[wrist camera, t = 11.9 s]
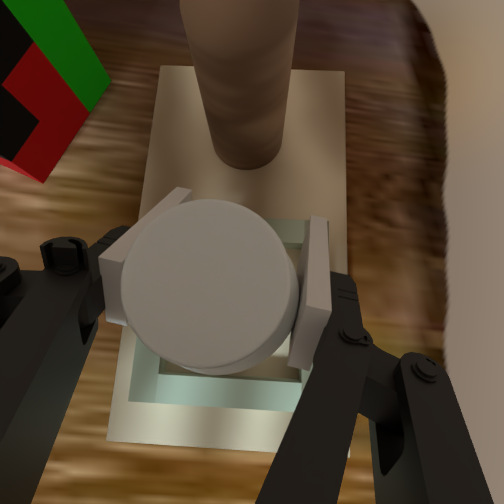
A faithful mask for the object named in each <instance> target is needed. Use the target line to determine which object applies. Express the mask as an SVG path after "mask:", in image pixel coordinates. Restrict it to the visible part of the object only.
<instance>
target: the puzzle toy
mask: <svg viewBox="0 0 504 504" xmlns="http://www.w3.org/2000/svg"><path fill="white" fill-rule="evenodd" d="M110 82H111V79H110V78H109V76H108V74H107V73H106V71H105V69H104V68H103V66H102V64H101V62H100V61H99V59H98V57H97V56H96V54H95V52H94V51H93V49H92V47H91V46H90V44H89V42H88V40H87V39H86V37H85V35H84V34H83V32H82V30H81V29H80V27H79V25H78V24H77V22H76V20H75V18H74V17H73V15H72V13H71V12H70V10H69V8H68V7H67V5H66V3H65V2H64V0H0V164H2V165H4V166H6V167H8V168H10V169H12V170H15V171H17V172H19V173H21V174H23V175H25V176H28V177H30V178H32V179H34V180H36V181H38V182H41V183H44V182H45V180H46V179H47V177H48V176H49V174H50V173H51V171H52V170H53V168H54V167H55V165H56V164H57V162H58V161H59V159H60V158H61V156H62V155H63V153H64V152H65V150H66V149H67V147H68V146H69V144H70V143H71V141H72V140H73V138H74V137H75V135H76V134H77V132H78V131H79V129H80V128H81V126H82V125H83V123H84V122H85V120H86V119H87V117H88V115H89V114H90V112H91V111H92V109H93V108H94V106H95V105H96V103H97V102H98V100H99V99H100V97H101V96H102V94H103V93H104V91H105V90H106V88H107V87H108V85H109V84H110Z"/></svg>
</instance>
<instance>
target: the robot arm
mask: <svg viewBox="0 0 504 504" xmlns="http://www.w3.org/2000/svg"><path fill="white" fill-rule="evenodd" d="M189 201H192V190H191V189H186V188H181V187H176V188H175V189H174V190H173V191H172V192H170V193H169V194H168V195H167V196H166V197H165V198H164V199H163V200H162V201H160V202H159V203H158V204H157V205H156V206H155V207H154V208H153V209H151V210H150V211H149V212H148V213H147V214H146V215H145V216H144V217H142V218H141V219H140V220H139V221H138V222H137V223H136V224H135V225H134V226H132V227H127V226H123V225H122V226H120V227H117V228H115V229H112V230H110V231H109V232H108V233H107V234H106V235H104V236H103V238H101V239H99V240H98V241H97V243H94V244H93V245H92V246H91V247H90V248H87V244H86V242H85V241H84V240H82V239H80V238H75V237H59V238H54V239H51V240H48V241H46V242H44V243H43V244H42V245H40V250H41V254H42V258H43V263H44V267H45V269H44V270H43V271H30V270H20V268H19V265H18V262H17V261H16V260H15V259H13V258H10V257H2V256H0V504H31V502H32V499H33V497H34V494H35V491H36V489H37V486H38V484H39V481H40V478H41V476H42V473H43V471H44V468H45V465H46V463H47V460H48V457H49V455H50V452H51V450H52V447H53V444H54V442H55V439H56V437H57V434H58V431H59V429H60V426H61V423H62V421H63V418H64V416H65V413H66V410H67V408H68V405H69V403H70V400H71V397H72V395H73V392H74V390H75V387H76V384H77V382H78V379H79V376H80V374H81V371H82V369H83V366H84V363H85V361H86V358H87V356H88V353H89V350H90V348H91V345H92V343H93V340H94V337H95V335H96V332H97V329H98V316H99V315H100V314H101V313H102V312H103V310H104V309H105V316H106V321H108V322H112V323H116V324H120V325H124V326H127V325H128V323H129V322H128V320H127V318H126V315H125V312H124V309H123V305H122V300H121V275H122V270H123V265H124V262H125V259H126V256H127V254H128V252H129V249H130V247H131V245H132V244H133V242H134V240H135V239H136V237H137V236H138V234H139V233H140V232H141V231H142V230H143V228H144V227H145V226H146V225H147V224H148V223H150V222H151V221H152V220H153V219H154V218H156V217H157V216H158V215H160V214H161V213H163V212H164V211H166V210H168V209H170V208H172V207H174V206H177V205H179V204H182V203H185V202H189ZM297 277H298V283H299V304H298V311H297V316H296V320H295V323H294V326H293V328H292V330H291V334H290V343H289V353H288V363H287V366H290V367H294V368H298V369H302V370H307V371H310V368H311V365H312V363H313V368H312V371H311V373H310V375H309V378H308V380H307V382H306V385H305V387H304V389H303V392H302V394H301V396H300V399H299V401H298V404H297V406H296V408H295V411H294V413H293V415H292V418H291V420H290V422H289V425H288V427H287V429H286V432H285V434H284V436H283V439H282V441H281V444H280V446H279V448H278V451H277V453H276V455H275V458H274V460H273V462H272V465H271V467H270V469H269V472H268V474H267V477H266V479H265V481H264V484H263V486H262V488H261V491H260V493H259V495H258V498H257V500H256V502H255V504H337V500H338V496H339V491H340V487H341V483H342V478H343V474H344V470H345V465H346V461H347V457H348V452H349V448H350V444H351V440H352V435H353V431H354V427H355V422H356V418H357V414H358V413H360V414H362V415H363V416H365V417H367V418H369V430H370V441H371V453H372V465H373V477H374V488H375V500H376V504H494V503H493V500H492V497H491V494H490V491H489V488H488V486H487V483H486V480H485V477H484V474H483V472H482V469H481V466H480V463H479V460H478V457H477V455H476V452H475V449H474V446H473V443H472V440H471V438H470V435H469V432H468V429H467V426H466V424H465V421H464V418H463V415H462V412H461V409H460V407H459V404H458V401H457V398H456V395H455V392H454V390H453V387H452V384H451V381H450V378H449V376H448V375H447V373H446V371H445V370H444V369H443V368H442V367H441V366H440V365H439V364H438V363H437V362H436V361H434V360H433V359H431V358H430V357H428V356H425V355H423V354H420V353H414V352H410V353H406V354H404V355H403V356H402V357H401V359H399V358H397V357H395V356H393V355H391V354H389V353H387V352H385V351H383V350H381V349H380V348H378V347H377V346H375V345H374V344H373V339H372V337H371V336H370V334H369V333H368V332H367V331H366V330H365V329H364V328H363V324H362V318H361V312H360V306H359V302H358V295H357V288H356V284H355V282H354V281H353V279H352V278H351V277H350V275H346V274H342V273H337V272H333V271H330V268H329V249H328V230H327V218H323V217H318V216H314V215H311V216H310V220H309V223H308V227H307V231H306V234H305V238H304V242H303V245H302V249H301V253H300V257H299V260H298V266H297Z"/></svg>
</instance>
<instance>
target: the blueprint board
mask: <svg viewBox="0 0 504 504" xmlns="http://www.w3.org/2000/svg"><path fill="white" fill-rule="evenodd" d="M299 3H300V0H180V2H179V5H180V12H181V16H182V20H183V24H184V28H185V33H186V37H187V41H188V45H189V49H190V53H191V57H192V61H193V65H194V66H168V65H161V67H160V74H159V80H158V87H157V94H156V101H155V108H154V115H153V122H152V129H151V136H150V142H149V149H148V156H147V163H146V170H145V177H144V184H143V191H142V198H141V204H140V211H139V218H138V221H139V220H140V219H141V218H142V217H144V216H145V215H146V214H147V213H148V212H149V211H150V210H151V209H153V208H154V207H155V206H156V205H157V204H158V203H159V202H160V201H162V200H163V199H164V198H165V197H166V196H167V195H168V194H169V193H170V192H172V191H173V190H174V189H175V188H176V187H181V188H186V189H191V190H192V201H194V200H199V199H216V200H224V201H229V202H233V203H236V204H239V205H241V206H244V207H246V208H248V209H250V210H251V211H253V212H255V213H256V214H258V215H259V216H260V217H261V218H263V219H264V220H265V221H266V222H267V223H268V224H269V225H270V226H271V227H272V228H273V230H274V231H275V232H276V234H277V235H278V237H279V238H280V240H281V242H282V243H283V245H284V248H285V250H286V253H287V254H288V256H289V258H290V260H291V262H292V264H293V266H294V268H295V270H296V273H297V266H298V260H299V257H300V253H301V249H302V245H303V242H304V238H305V234H306V231H307V227H308V223H309V220H310V216H311V215H314V216H318V217H323V218H327V230H328V249H329V268H330V271H333V272H337V273H342V274H346V275H347V210H346V137H345V71H323V70H292V69H291V67H292V59H293V51H294V43H295V35H296V27H297V20H298V12H299ZM290 334H291V332H290V333H289V335H288V336H287V338H286V339H285V341H284V342H283V344H282V345H281V346H280V347H279V348H278V349H277V350H276V351H275V352H274V353H273V354H272V355H271V356H269V357H268V358H267V359H266V360H264V361H262V362H261V363H259V364H258V365H256V366H254V367H251V368H249V369H247V370H244V371H241V372H237V373H232V374H225V375H207V374H201V373H197V372H194V371H191V370H188V369H185V368H183V367H181V366H179V365H176V364H173V363H171V362H169V361H166V360H164V359H163V358H161V357H159V356H158V355H156V354H155V353H153V352H152V351H151V350H149V349H148V348H147V347H146V346H145V345H144V344H143V343H142V342H141V340H140V339H139V338H138V337H137V336H136V334H135V333H134V331H133V330H132V328H131V326H130V324H129V323H128V325H127V326H124V325H123V329H122V335H121V342H120V349H119V356H118V363H117V370H116V377H115V384H114V391H113V397H112V404H111V411H110V418H109V425H108V432H107V439H106V441H117V442H131V443H146V444H161V445H175V446H190V447H204V448H219V449H234V450H248V451H263V452H277V451H278V448H279V446H280V444H281V441H282V439H283V436H284V434H285V432H286V429H287V427H288V425H289V422H290V420H291V418H292V415H293V413H294V411H295V408H296V406H297V404H298V401H299V399H300V396H301V394H302V392H303V389H304V387H305V385H306V382H307V380H308V378H309V375H310V373H311V371H312V368H313V363H312V365H311V368H310V371H307V370H302V369H298V368H294V367H290V366H287V363H288V353H289V343H290ZM348 457H350V448H349V452H348Z"/></svg>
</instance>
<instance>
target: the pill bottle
mask: <svg viewBox="0 0 504 504" xmlns="http://www.w3.org/2000/svg"><path fill="white" fill-rule="evenodd" d="M121 300H122V305H123V309H124V312H125V315H126V318H127V320H128V322H129V324H130V326H131V328H132V330H133V331H134V333H135V334H136V336H137V337H138V338H139V339H140V340H141V342H142V343H143V344H144V345H145V346H146V347H147V348H148V349H149V350H151V351H152V352H153V353H155V354H156V355H158V356H159V357H161V358H163V359H164V360H166V361H169V362H171V363H173V364H176V365H179V366H181V367H183V368H185V369H188V370H191V371H194V372H197V373H201V374H207V375H225V374H232V373H237V372H241V371H244V370H247V369H249V368H251V367H254V366H256V365H258V364H259V363H261V362H262V361H264V360H266V359H267V358H268V357H269V356H271V355H272V354H273V353H274V352H275V351H276V350H277V349H278V348H279V347H280V346H281V345H282V344H283V342H284V341H285V339H286V338H287V336H288V335H289V333H290V332H291V330H292V328H293V326H294V323H295V320H296V316H297V311H298V304H299V283H298V277H297V273H296V270H295V268H294V266H293V264H292V262H291V260H290V258H289V256H288V254H287V253H286V250H285V248H284V245H283V243H282V242H281V240H280V238H279V237H278V235H277V234H276V232H275V231H274V230H273V228H272V227H271V226H270V225H269V224H268V223H267V222H266V221H265V220H264V219H263V218H261V217H260V216H259V215H258V214H256V213H255V212H253V211H251V210H250V209H248V208H246V207H244V206H241V205H239V204H236V203H233V202H229V201H224V200H216V199H199V200H194V201H189V202H185V203H182V204H179V205H177V206H174V207H172V208H170V209H168V210H166V211H164V212H163V213H161V214H160V215H158V216H157V217H156V218H154V219H153V220H152V221H151V222H150V223H148V224H147V225H146V226H145V227H144V228H143V230H142V231H141V232H140V233H139V234H138V236H137V237H136V239H135V240H134V242H133V244H132V245H131V247H130V249H129V252H128V254H127V256H126V259H125V262H124V265H123V270H122V275H121Z"/></svg>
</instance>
